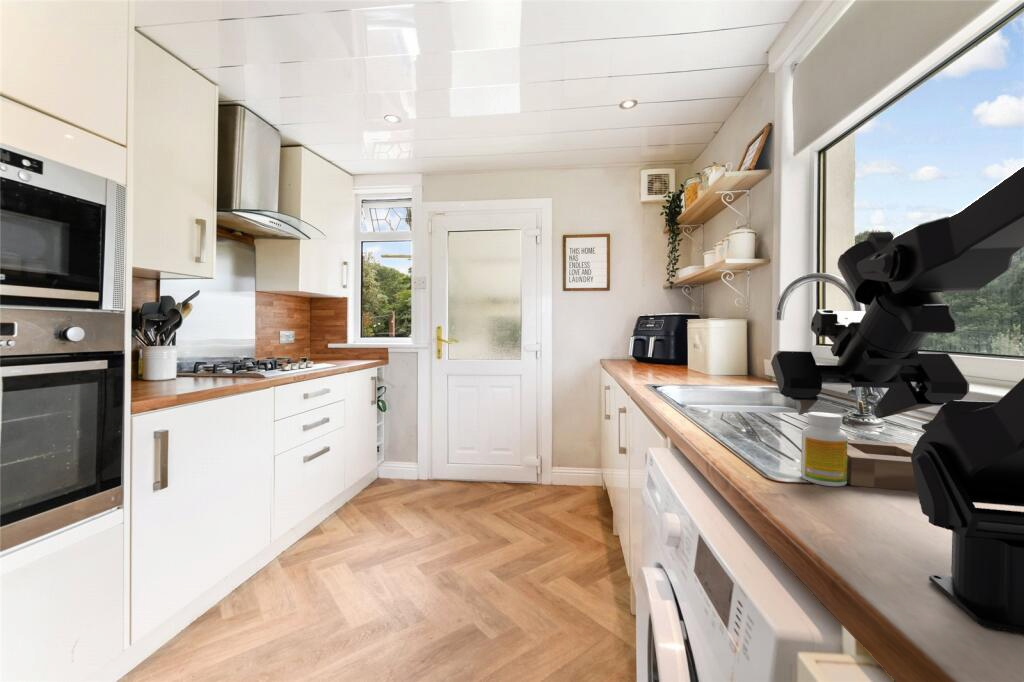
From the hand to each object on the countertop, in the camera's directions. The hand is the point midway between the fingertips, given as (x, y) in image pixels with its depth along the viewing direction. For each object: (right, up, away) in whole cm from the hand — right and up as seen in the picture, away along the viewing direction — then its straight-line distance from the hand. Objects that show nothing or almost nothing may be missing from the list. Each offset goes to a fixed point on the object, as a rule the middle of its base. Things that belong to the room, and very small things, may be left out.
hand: (837, 413), depth 59 cm
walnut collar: (+11, -10, +6) cm, 16 cm away
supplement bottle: (+1, -11, +4) cm, 11 cm away
